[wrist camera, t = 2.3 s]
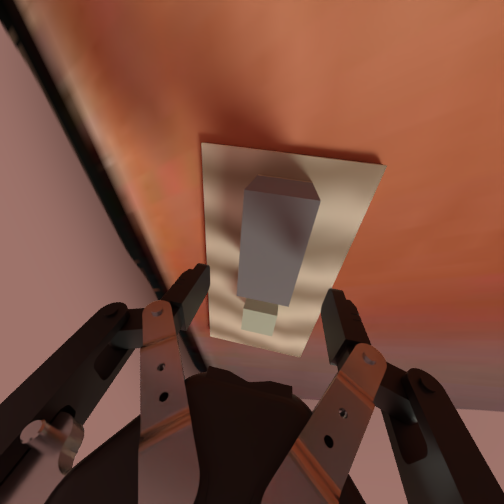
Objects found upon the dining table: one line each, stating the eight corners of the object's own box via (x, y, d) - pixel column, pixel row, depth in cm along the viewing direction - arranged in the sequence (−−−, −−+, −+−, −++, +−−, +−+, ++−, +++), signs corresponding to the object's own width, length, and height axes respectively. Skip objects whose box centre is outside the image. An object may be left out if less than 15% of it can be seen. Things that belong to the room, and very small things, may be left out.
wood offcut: (249, 285, 25) (243, 308, 21) (279, 291, 24) (277, 315, 21) (247, 305, 27) (241, 329, 24) (274, 311, 26) (272, 336, 23)
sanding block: (258, 174, 17) (244, 189, 12) (312, 181, 17) (320, 201, 12) (248, 260, 23) (236, 295, 18) (289, 268, 22) (288, 306, 17)
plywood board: (205, 142, 17) (201, 142, 17) (382, 164, 16) (387, 165, 15) (212, 331, 34) (210, 336, 33) (299, 351, 32) (299, 357, 31)
